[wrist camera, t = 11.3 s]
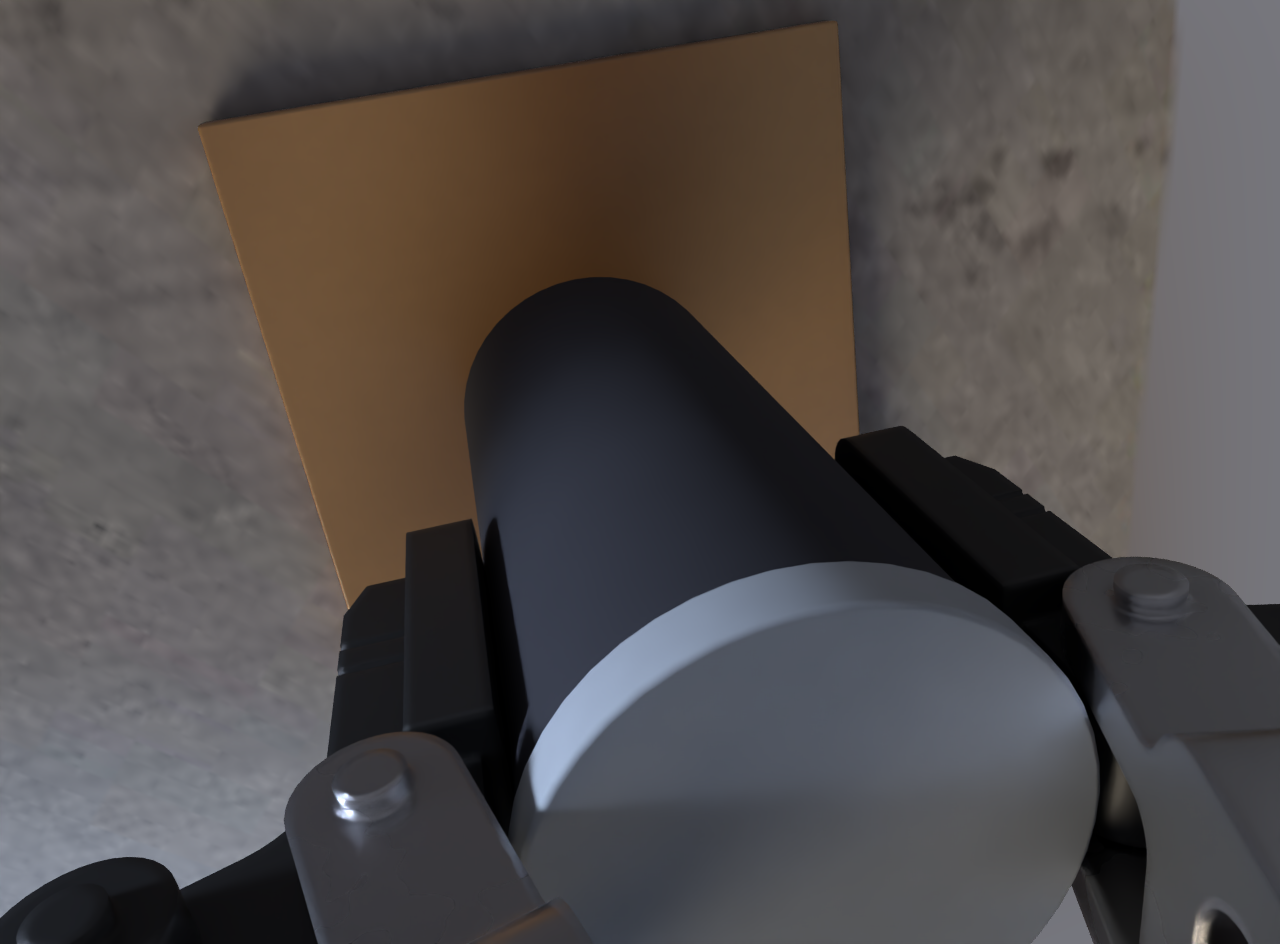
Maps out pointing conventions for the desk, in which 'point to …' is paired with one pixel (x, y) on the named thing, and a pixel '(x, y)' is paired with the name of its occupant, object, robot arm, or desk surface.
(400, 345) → the pad
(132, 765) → the desk surface
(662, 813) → the roller
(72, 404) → the desk surface
